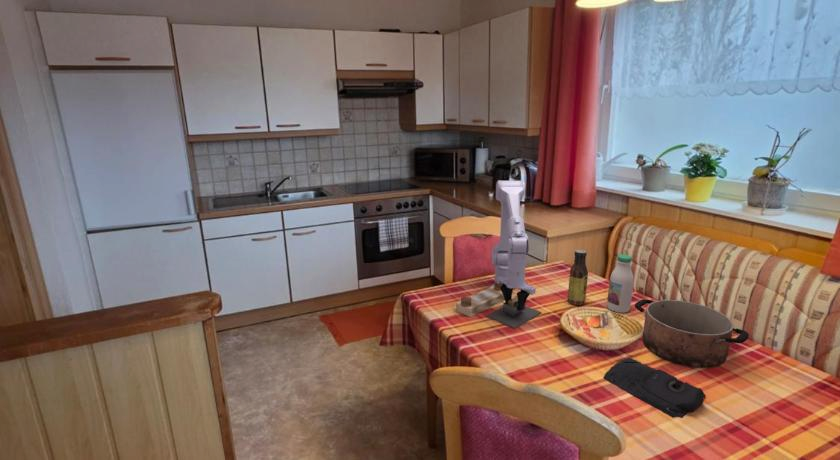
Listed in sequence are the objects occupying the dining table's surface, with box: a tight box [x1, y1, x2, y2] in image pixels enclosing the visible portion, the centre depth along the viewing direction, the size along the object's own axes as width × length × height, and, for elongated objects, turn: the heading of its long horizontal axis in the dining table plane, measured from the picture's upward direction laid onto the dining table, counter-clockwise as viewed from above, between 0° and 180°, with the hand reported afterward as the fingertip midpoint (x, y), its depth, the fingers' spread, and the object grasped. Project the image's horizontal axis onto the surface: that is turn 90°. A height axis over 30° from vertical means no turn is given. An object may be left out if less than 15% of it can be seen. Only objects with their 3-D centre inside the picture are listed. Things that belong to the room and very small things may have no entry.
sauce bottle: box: [567, 249, 589, 306], centre depth 165 cm, size 7×6×20 cm
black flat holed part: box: [603, 357, 707, 419], centre depth 118 cm, size 15×22×5 cm
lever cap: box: [502, 295, 527, 316], centre depth 157 cm, size 7×4×4 cm, turn 133°
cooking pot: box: [634, 298, 750, 369], centre depth 136 cm, size 30×22×11 cm
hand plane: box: [455, 281, 505, 318], centre depth 166 cm, size 22×7×6 cm, turn 133°
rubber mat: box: [485, 306, 542, 330], centre depth 158 cm, size 16×12×1 cm
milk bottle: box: [606, 253, 634, 314], centre depth 160 cm, size 8×8×20 cm
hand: (514, 307), depth 157 cm, fingers closed on lever cap, 4 cm apart
